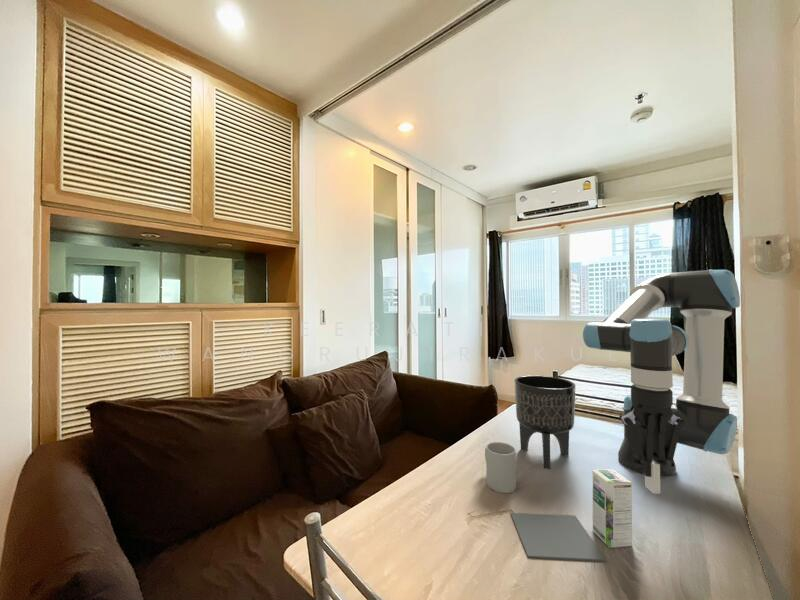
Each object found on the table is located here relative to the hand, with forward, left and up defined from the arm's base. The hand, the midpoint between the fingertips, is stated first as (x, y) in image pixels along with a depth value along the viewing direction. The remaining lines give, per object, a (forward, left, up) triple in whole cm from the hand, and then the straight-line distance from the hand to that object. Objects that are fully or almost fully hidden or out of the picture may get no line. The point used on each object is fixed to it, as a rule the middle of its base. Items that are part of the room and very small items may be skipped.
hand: (652, 489), depth 73 cm
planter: (+10, -39, -12) cm, 42 cm away
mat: (+22, 0, -11) cm, 25 cm away
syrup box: (+9, 0, -12) cm, 15 cm away
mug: (+30, -22, -12) cm, 39 cm away
